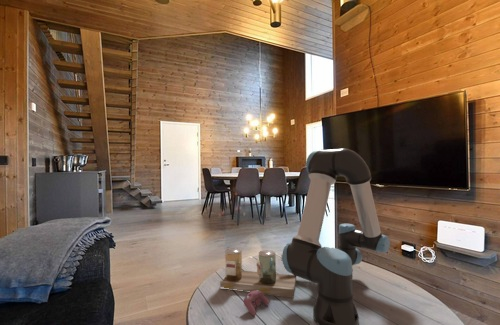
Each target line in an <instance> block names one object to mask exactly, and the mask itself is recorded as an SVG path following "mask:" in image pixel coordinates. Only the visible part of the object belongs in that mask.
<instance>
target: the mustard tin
mask: <svg viewBox="0 0 500 325" xmlns="http://www.w3.org/2000/svg"><path fill="white" fill-rule="evenodd" d="M224 256H225V277H226V279H227V280H229V281H238V280H240V279H241V278H242V271H243V265H242V263H243V261H242V259H243V258H242V249H241V248H239V247H238V248H237V247H231V248H226V249H225V255H224Z"/></svg>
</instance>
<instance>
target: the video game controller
mask: <svg viewBox="0 0 500 325" xmlns="http://www.w3.org/2000/svg"><path fill="white" fill-rule="evenodd" d="M265 295H266V294H263V293H262V292H261V291H260V290H254V291H251V292H250V293H248V294H246V296H245V297H244V298H243V305H244V307H246V309H247V311H248V312H249V314H250V315H252V316H256V314H257V313H256V310H255V309H256V307H259V306H261V302H262V303H263V304H264V305H266V306H269V304H270V301H269V300H268V297H266V296H265Z"/></svg>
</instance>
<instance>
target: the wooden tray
mask: <svg viewBox="0 0 500 325" xmlns="http://www.w3.org/2000/svg"><path fill="white" fill-rule="evenodd" d="M296 286H297V276H295V275H293V274H283V273H276V282H275V283H274V284H270V285H266V284H262V283H260V281H259V275H258V274H257V271H253V270H252V271H251V270H250V271H249V270H242V278H241V279H240V280H238V281H229V280H227V279H226V276H225V277H224V279H222V280H221V281H219V287H224V288H229V289H237V290H243V291H250V292H251V291H254V290H260V291H261V292H262V293H263V294H264V295H266V294H267V295H268V296H277V297H286V298H294V297H295V291H296Z"/></svg>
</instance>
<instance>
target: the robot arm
mask: <svg viewBox="0 0 500 325" xmlns="http://www.w3.org/2000/svg"><path fill="white" fill-rule="evenodd" d="M305 167H306V168H305V170H306V172H307V174H308V178H309V180H310V182H309V188H308V191H307V195H306V198H305V203H304V208H303V211H302V215H301V219H300V224H299V228H298V231H297V234H296V235H295V236H293V237H292V240H291V242H287V243H286V245H284V248H283V250H282V253H281V257H280V258H281V259H280V260H281V261H282V264H283V268H284V270H286V271H287V272H288V273H290V274H291V275H295V276H296V277H299V278H301V279H304V280H307V281H309V282H312V283H314V284H316V285H317V295H316V299H315V303H314V306H313V309H312V310H313V311H312V312H313V314H312V315H313V319H314V321H315V323H316V324H317V325H360V321H359V320H360V318H359V313H358V310H357V307H356V303H355V301H354V297H353V296H354V295H353V273H354V272H353V271H354V269H353V266H356V265H359V264H360V263H361V262H362V261H363V260H362V259H363V258H362V252H361V250H360V249H365V250H369V251H374V252H376V253H383V254H384V253H387V252H388V251H389V250H390V246H391V241H390V238H389V236H388V235H386V234H382V230H381V227H380V221H379V218H378V213H377V209H376V205H375V200H374V196H373V192H372V191H373V190H372V187H371V183H370V182H371V180H372V175H371V171H370V168H369V166H368V164H367V163H366V161H365V160H364V159H363V157H361V155H360V154H359V153H357V152H356V151H355V150H352V149H349V148H346V147H345V148H333V149H331V148H330V149H318V150H314V151H312V152H311V153H310V154H309V155H308V156H307V158H306V161H305ZM337 177H344V178H345V183H346V184H348V185H349V186H350V190H351V193H352V194H351V195H352V197H353V202H354V205H355V209H356V213H357V218H358V220H359V225H360V228H361V230H358V229H356V225H354V224H352V223H340V224H339V225H338V248H335V247H329V246H324V247H323V246H322V244H321V243H320V238H321V234H322V233H321V231H322V228H323V227H322V226H323V223H324V219H325V216H326V215H325V214H326V211H327V210H326V208H327V205H328V201H329V197H330V193H331V192H330V191H331V187H332V186H333V185H335V184H336V182H337ZM356 247H358V248H360V249H358V248H356Z"/></svg>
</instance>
